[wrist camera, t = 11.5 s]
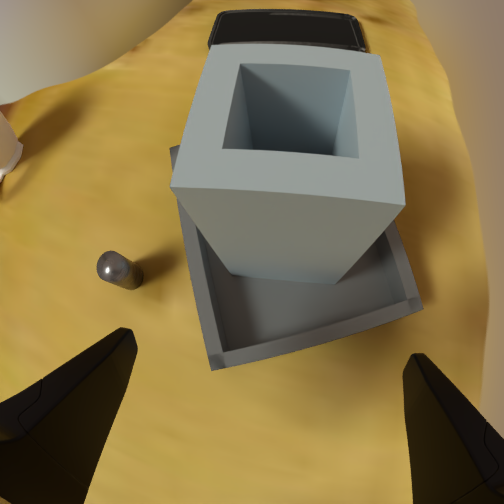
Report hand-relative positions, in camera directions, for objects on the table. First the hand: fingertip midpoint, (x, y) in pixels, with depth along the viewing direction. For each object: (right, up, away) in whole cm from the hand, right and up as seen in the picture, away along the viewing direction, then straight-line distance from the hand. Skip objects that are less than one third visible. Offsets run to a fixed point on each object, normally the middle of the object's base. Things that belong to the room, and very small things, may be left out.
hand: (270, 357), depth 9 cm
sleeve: (+2, +4, +10) cm, 11 cm away
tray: (+2, +4, +10) cm, 11 cm away
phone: (+3, +25, +17) cm, 31 cm away
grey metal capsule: (-9, +2, +11) cm, 14 cm away
